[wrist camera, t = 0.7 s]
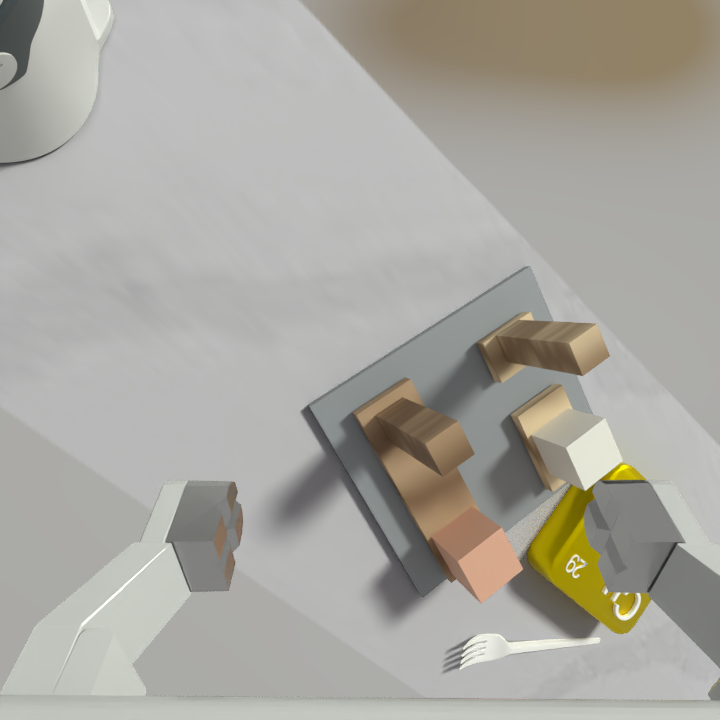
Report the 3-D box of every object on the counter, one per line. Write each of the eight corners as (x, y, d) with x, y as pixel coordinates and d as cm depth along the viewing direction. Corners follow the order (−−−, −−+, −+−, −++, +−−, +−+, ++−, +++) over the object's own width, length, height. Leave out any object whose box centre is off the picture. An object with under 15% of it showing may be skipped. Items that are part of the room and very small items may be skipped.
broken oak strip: (476, 342, 50) (554, 353, 40) (522, 311, 52) (610, 314, 41) (545, 488, 55) (632, 532, 44) (586, 456, 56) (680, 491, 46)
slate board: (307, 405, 47) (309, 406, 46) (525, 266, 53) (530, 266, 52) (418, 593, 52) (422, 597, 52) (603, 449, 58) (608, 451, 58)
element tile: (665, 516, 63) (702, 532, 59) (596, 620, 61) (629, 645, 57) (594, 446, 59) (629, 458, 54) (518, 556, 57) (547, 578, 52)
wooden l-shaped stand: (352, 412, 47) (401, 444, 36) (405, 377, 48) (468, 398, 38) (445, 576, 52) (512, 646, 41) (491, 540, 53) (567, 599, 43)
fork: (592, 649, 62) (605, 659, 60) (449, 662, 55) (458, 674, 53) (597, 623, 62) (610, 632, 60) (454, 633, 55) (463, 644, 53)
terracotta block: (431, 536, 50) (457, 561, 45) (471, 506, 51) (501, 527, 46) (453, 575, 51) (481, 603, 46) (492, 545, 52) (523, 569, 47)
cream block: (531, 434, 52) (565, 447, 47) (567, 407, 53) (605, 418, 49) (549, 474, 53) (585, 490, 49) (584, 447, 55) (622, 460, 50)
